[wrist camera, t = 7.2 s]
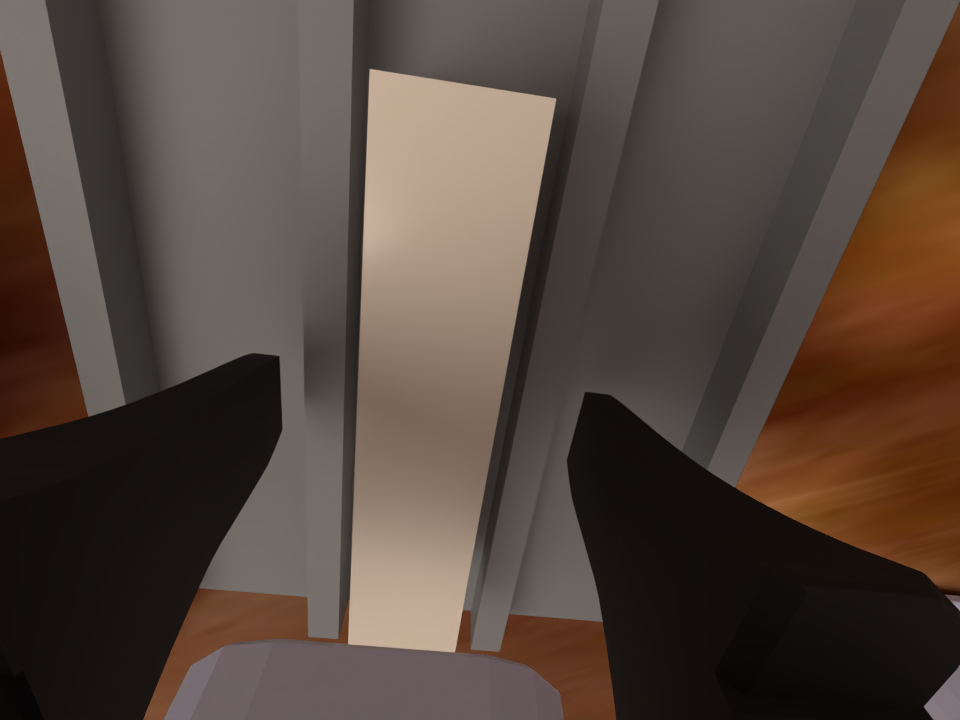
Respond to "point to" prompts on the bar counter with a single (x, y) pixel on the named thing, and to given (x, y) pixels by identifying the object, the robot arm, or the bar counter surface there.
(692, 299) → the drying rack
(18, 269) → the bar counter surface
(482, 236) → the clay strip
